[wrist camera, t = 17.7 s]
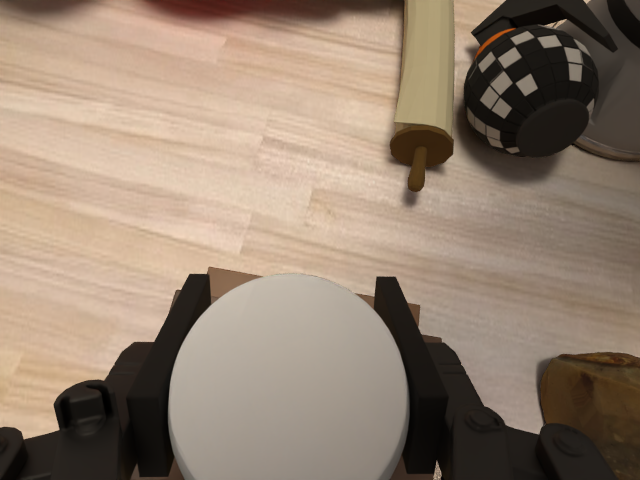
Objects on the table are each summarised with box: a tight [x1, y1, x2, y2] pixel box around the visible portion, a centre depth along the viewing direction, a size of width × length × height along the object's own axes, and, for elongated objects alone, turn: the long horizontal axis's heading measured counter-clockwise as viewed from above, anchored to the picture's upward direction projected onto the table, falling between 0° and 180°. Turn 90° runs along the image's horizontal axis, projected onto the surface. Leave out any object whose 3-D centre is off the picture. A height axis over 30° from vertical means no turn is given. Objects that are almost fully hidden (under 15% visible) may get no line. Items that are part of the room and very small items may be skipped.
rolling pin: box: [390, 0, 455, 192], centre depth 39 cm, size 32×6×5 cm, turn 172°
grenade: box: [464, 0, 618, 158], centre depth 35 cm, size 11×9×15 cm
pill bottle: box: [168, 273, 410, 480], centre depth 14 cm, size 6×6×12 cm
